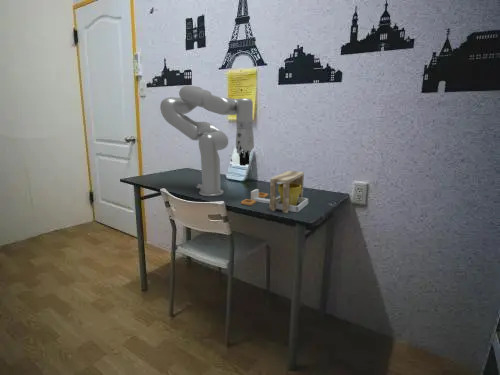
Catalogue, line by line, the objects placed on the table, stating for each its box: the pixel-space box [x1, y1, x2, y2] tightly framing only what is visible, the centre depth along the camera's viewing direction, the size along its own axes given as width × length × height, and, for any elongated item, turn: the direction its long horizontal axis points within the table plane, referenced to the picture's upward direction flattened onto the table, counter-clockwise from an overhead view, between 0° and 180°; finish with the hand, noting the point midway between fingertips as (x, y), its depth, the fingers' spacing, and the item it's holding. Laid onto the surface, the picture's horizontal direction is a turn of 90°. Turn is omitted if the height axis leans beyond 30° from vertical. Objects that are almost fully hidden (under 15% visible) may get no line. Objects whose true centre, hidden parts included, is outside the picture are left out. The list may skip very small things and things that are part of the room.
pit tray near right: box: [240, 198, 257, 207], centre depth 140 cm, size 5×5×2 cm
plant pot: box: [277, 183, 301, 206], centre depth 137 cm, size 10×10×10 cm
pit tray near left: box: [259, 191, 269, 199], centre depth 152 cm, size 5×5×2 cm
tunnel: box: [269, 170, 305, 214], centre depth 137 cm, size 8×21×14 cm, turn 152°
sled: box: [250, 188, 309, 213], centre depth 140 cm, size 25×15×5 cm, turn 62°
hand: (244, 164), depth 144 cm, fingers open, 2 cm apart
